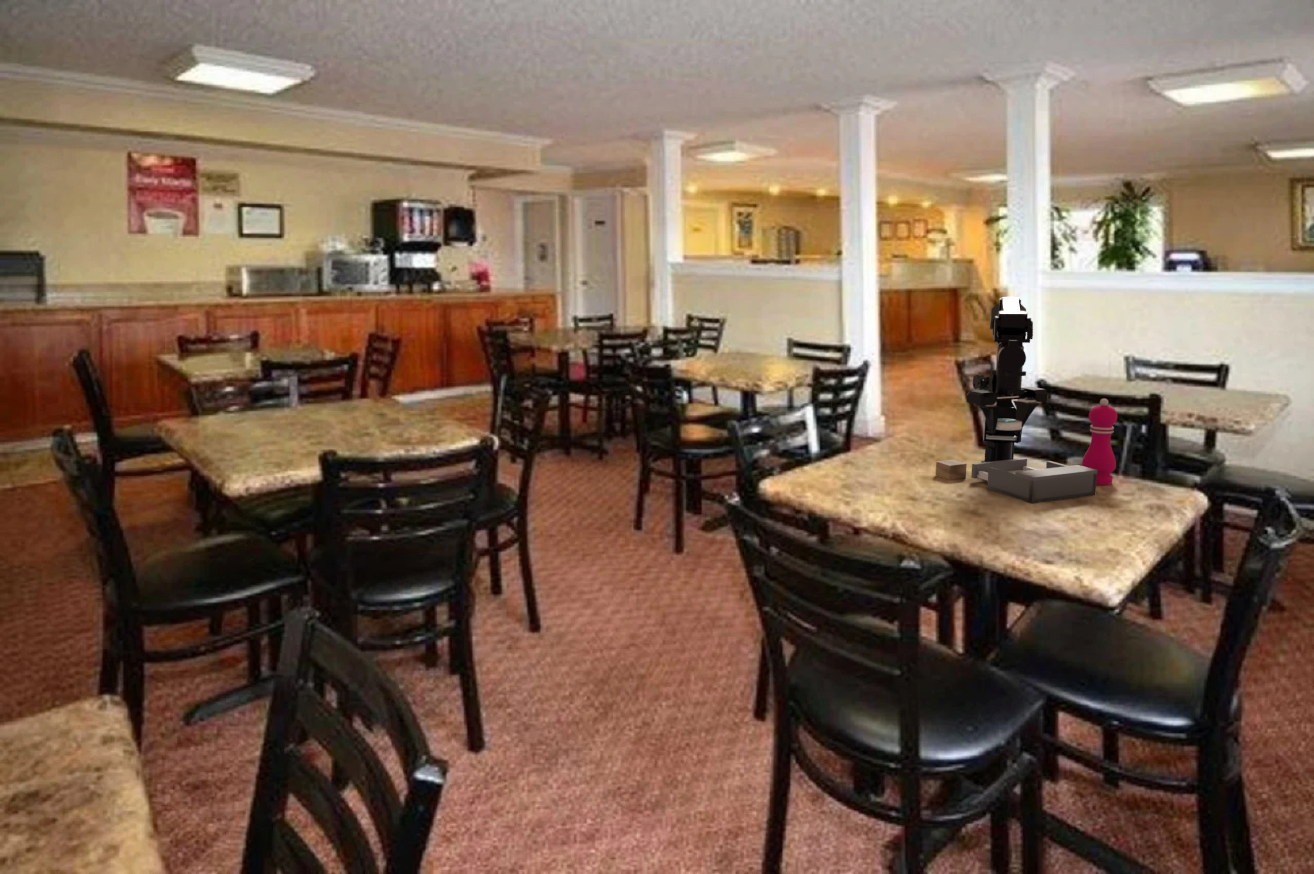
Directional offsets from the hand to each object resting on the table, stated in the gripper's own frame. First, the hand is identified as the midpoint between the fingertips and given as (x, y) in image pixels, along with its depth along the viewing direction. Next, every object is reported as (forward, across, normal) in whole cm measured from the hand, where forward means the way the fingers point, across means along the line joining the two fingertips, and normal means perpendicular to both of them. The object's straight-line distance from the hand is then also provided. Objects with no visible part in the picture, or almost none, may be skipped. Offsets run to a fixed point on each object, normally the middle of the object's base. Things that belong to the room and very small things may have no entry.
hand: (1005, 432), depth 216 cm
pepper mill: (+12, -21, +8) cm, 26 cm away
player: (+12, -2, +10) cm, 16 cm away
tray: (+11, -2, +3) cm, 12 cm away
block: (+12, +8, -9) cm, 17 cm away
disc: (-1, 0, 0) cm, 1 cm away
